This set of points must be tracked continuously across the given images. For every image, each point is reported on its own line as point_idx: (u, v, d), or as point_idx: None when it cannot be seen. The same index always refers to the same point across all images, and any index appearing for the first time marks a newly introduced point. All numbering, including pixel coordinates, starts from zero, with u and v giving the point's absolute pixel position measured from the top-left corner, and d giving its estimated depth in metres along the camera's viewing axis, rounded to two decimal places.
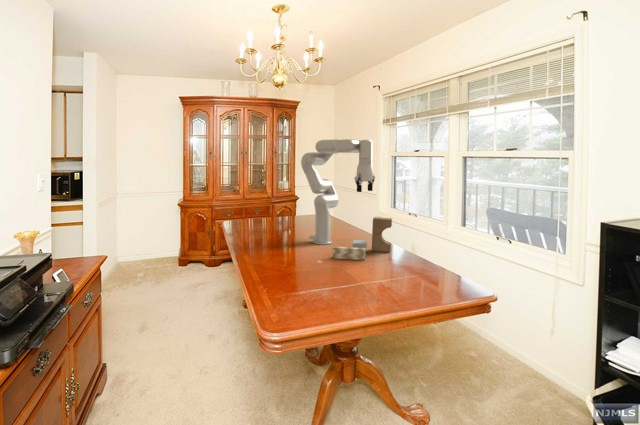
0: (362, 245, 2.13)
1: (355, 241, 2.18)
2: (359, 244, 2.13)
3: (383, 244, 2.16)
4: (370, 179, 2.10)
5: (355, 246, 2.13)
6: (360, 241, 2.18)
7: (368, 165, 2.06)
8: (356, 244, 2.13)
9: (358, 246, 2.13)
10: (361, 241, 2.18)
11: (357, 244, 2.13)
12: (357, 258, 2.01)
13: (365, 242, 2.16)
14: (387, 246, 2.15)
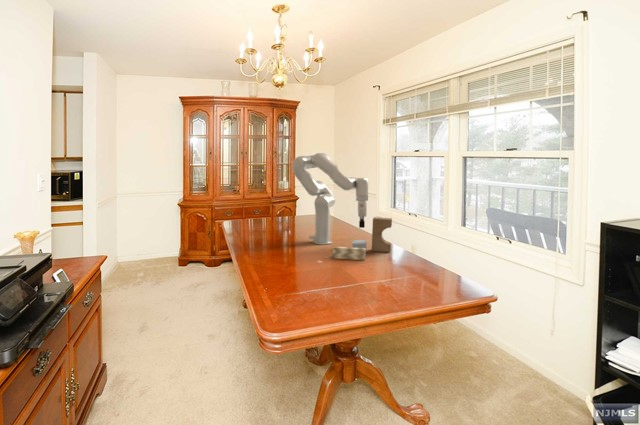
0: (362, 245, 2.13)
1: (355, 241, 2.18)
2: (359, 244, 2.13)
3: (383, 244, 2.16)
4: (358, 215, 2.22)
5: (355, 246, 2.14)
6: (360, 241, 2.18)
7: None
8: (356, 244, 2.13)
9: (358, 246, 2.13)
10: (361, 241, 2.18)
11: (357, 244, 2.13)
12: (357, 258, 2.01)
13: (365, 242, 2.16)
14: (387, 246, 2.15)
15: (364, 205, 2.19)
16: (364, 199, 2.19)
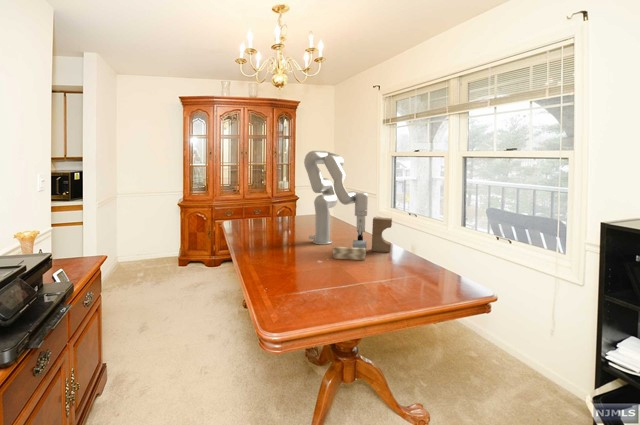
0: (362, 245, 2.12)
1: (355, 241, 2.17)
2: (359, 244, 2.12)
3: (383, 244, 2.16)
4: None
5: (355, 246, 2.13)
6: (360, 241, 2.17)
7: None
8: (356, 244, 2.13)
9: (358, 246, 2.13)
10: (361, 241, 2.17)
11: (357, 244, 2.13)
12: (357, 258, 2.01)
13: (365, 242, 2.15)
14: (387, 246, 2.15)
15: (363, 220, 2.15)
16: (363, 214, 2.16)
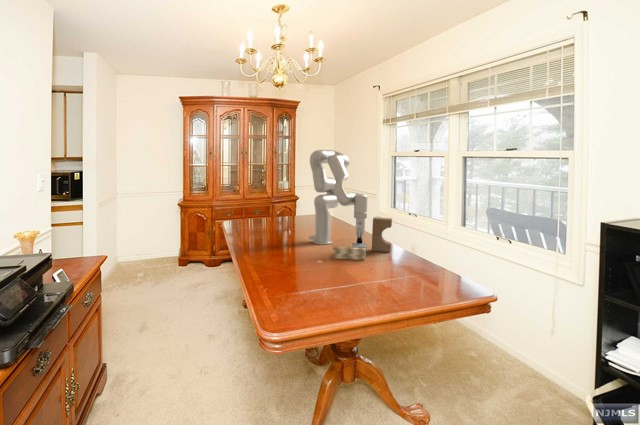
0: None
1: (354, 244, 2.10)
2: (359, 247, 2.05)
3: (383, 244, 2.16)
4: (356, 232, 2.11)
5: None
6: (359, 244, 2.10)
7: None
8: (356, 247, 2.05)
9: None
10: (360, 244, 2.10)
11: (357, 247, 2.05)
12: (357, 258, 2.01)
13: (365, 245, 2.08)
14: (387, 246, 2.15)
15: (362, 223, 2.08)
16: (362, 216, 2.08)
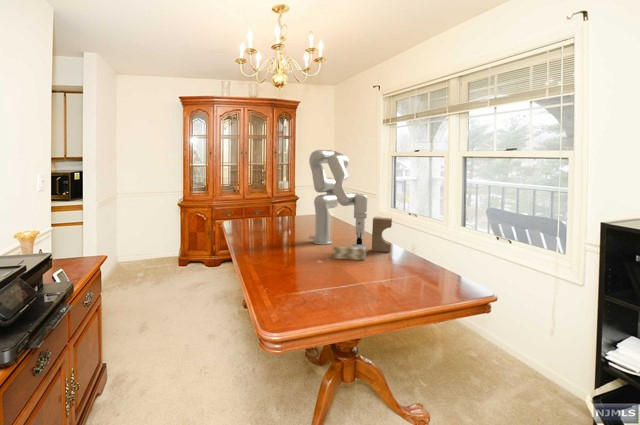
0: None
1: (355, 245, 2.07)
2: None
3: (383, 244, 2.16)
4: None
5: None
6: (360, 245, 2.08)
7: None
8: None
9: None
10: (361, 245, 2.08)
11: None
12: (357, 258, 2.01)
13: (365, 246, 2.06)
14: (387, 246, 2.15)
15: (362, 223, 2.09)
16: (362, 217, 2.09)
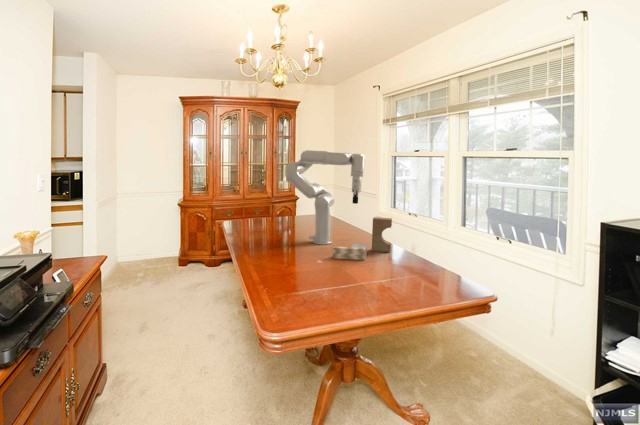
0: None
1: (355, 245, 2.08)
2: None
3: (383, 244, 2.16)
4: (352, 190, 2.23)
5: None
6: (360, 245, 2.08)
7: None
8: None
9: None
10: (361, 245, 2.08)
11: None
12: (357, 258, 2.01)
13: (365, 246, 2.05)
14: (387, 246, 2.15)
15: (358, 181, 2.19)
16: (359, 175, 2.20)
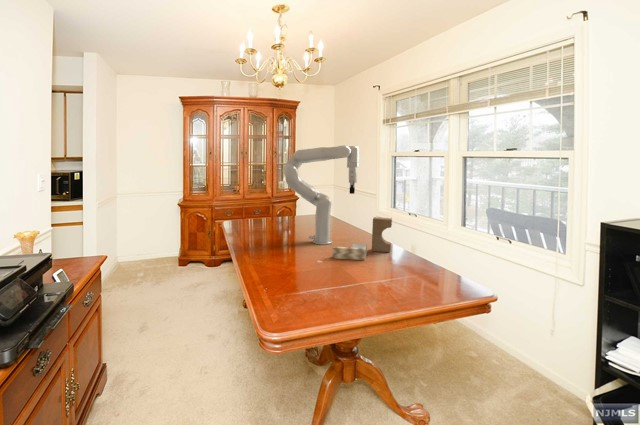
0: None
1: (355, 245, 2.08)
2: None
3: (383, 244, 2.16)
4: None
5: None
6: (360, 245, 2.08)
7: None
8: None
9: None
10: (361, 245, 2.08)
11: None
12: (357, 258, 2.01)
13: (365, 246, 2.05)
14: (387, 246, 2.15)
15: (354, 171, 2.31)
16: (354, 166, 2.32)
